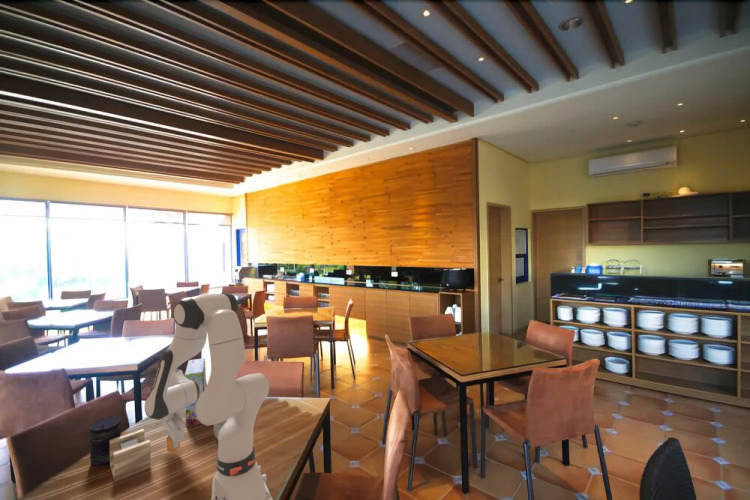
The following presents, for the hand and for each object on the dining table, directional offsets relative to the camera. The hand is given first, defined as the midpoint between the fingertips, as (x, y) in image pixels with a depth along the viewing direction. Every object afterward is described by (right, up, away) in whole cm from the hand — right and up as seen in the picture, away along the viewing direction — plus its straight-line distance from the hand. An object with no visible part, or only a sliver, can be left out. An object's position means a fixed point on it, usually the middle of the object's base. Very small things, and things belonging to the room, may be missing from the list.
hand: (173, 443), depth 133 cm
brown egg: (0, -2, 0) cm, 2 cm away
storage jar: (-26, -5, -2) cm, 26 cm away
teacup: (+16, -5, +15) cm, 22 cm away
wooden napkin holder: (-13, -5, -6) cm, 15 cm away
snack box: (-8, -5, +32) cm, 33 cm away
